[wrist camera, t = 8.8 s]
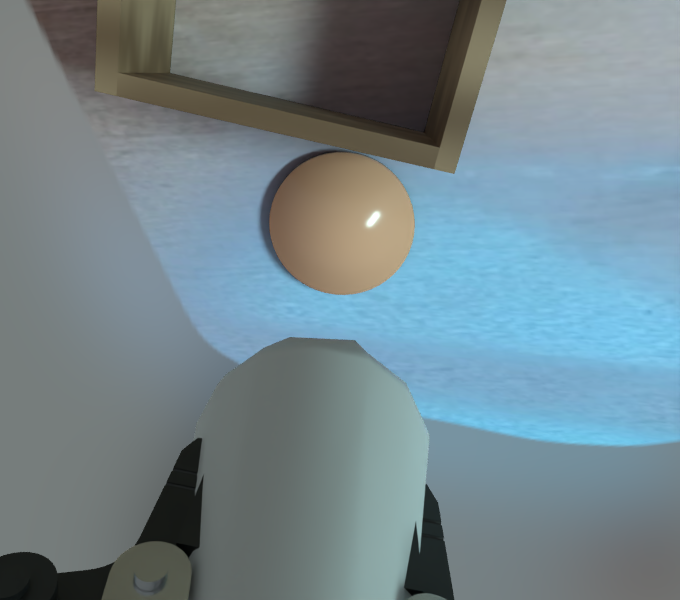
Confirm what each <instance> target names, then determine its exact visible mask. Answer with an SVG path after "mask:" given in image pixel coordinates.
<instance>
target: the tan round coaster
mask: <svg viewBox="0 0 680 600" xmlns="http://www.w3.org/2000/svg"><path fill="white" fill-rule="evenodd" d="M269 227H270V235H271V240H272V244H273V247H274V249H275V252H276V254H277V256H278V258H279V259H280V261H281V262H282V264H283V265H284V267H285V268H286V269H287V270H288V271H289V272H290V273H291V274H292V275H293V276H294V277H295V278H296V279H298V280H299V281H300V282H302V283H303V284H305V285H307V286H309V287H311V288H313V289H315V290H318V291H321V292H325V293H330V294H338V295H347V294H356V293H360V292H364V291H367V290H370V289H372V288H374V287H376V286H378V285H380V284H382V283H383V282H385V281H386V280H387V279H389V278H390V277H391V276H392V275H393V274H394V273H395V272H396V271H397V270H398V269H399V268H400V266H401V265H402V263H403V262H404V261H405V259H406V257H407V255H408V253H409V251H410V248H411V245H412V241H413V237H414V227H415V222H414V213H413V208H412V204H411V201H410V198H409V196H408V193H407V191H406V190H405V188H404V186H403V184H402V183H401V182H400V180H399V179H398V178H397V176H396V175H395V174H394V173H393V172H392V171H391V170H390V169H388V168H387V167H386V166H385V165H383V164H382V163H380V162H378V161H377V160H375V159H373V158H370V157H368V156H365V155H362V154H359V153H353V152H330V153H325V154H321V155H318V156H316V157H313V158H311V159H309V160H307V161H305V162H303V163H302V164H300V165H299V166H298V167H296V168H295V169H294V170H293V171H292V172H291V173H290V174H289V175H288V176H287V177H286V179H285V180H284V181H283V183H282V184H281V185H280V187H279V189H278V191H277V192H276V194H275V197H274V200H273V202H272V206H271V210H270V219H269Z"/></svg>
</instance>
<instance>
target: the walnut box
mask: <svg viewBox="0 0 680 600" xmlns="http://www.w3.org/2000/svg"><path fill="white" fill-rule="evenodd" d="M505 4H506V0H460V1H459V5H458V9H457V12H456V16H455V20H454V24H453V27H452V31H451V35H450V38H449V42H448V46H447V50H446V53H445V57H444V61H443V64H442V68H441V72H440V76H439V79H438V83H437V87H436V90H435V94H434V98H433V101H432V105H431V109H430V113H429V116H428V120H427V124H426V127H425V131H424V132H420V131H416V130H412V129H407V128H403V127H399V126H394V125H390V124H386V123H382V122H377V121H373V120H369V119H364V118H360V117H356V116H352V115H347V114H343V113H339V112H334V111H330V110H326V109H322V108H317V107H313V106H309V105H304V104H300V103H296V102H292V101H287V100H283V99H279V98H274V97H270V96H266V95H262V94H257V93H253V92H249V91H244V90H240V89H236V88H232V87H227V86H223V85H219V84H215V83H210V82H206V81H202V80H197V79H193V78H189V77H185V76H180V75H176V74H172V73H170V66H171V54H172V42H173V30H174V17H175V5H176V0H97V31H96V64H95V91H97V92H101V93H106V94H110V95H114V96H119V97H123V98H127V99H132V100H136V101H140V102H145V103H149V104H154V105H158V106H162V107H167V108H171V109H175V110H180V111H184V112H188V113H193V114H197V115H201V116H206V117H210V118H214V119H219V120H223V121H227V122H232V123H236V124H240V125H245V126H249V127H253V128H258V129H262V130H266V131H271V132H275V133H279V134H284V135H288V136H292V137H297V138H301V139H305V140H310V141H314V142H318V143H323V144H327V145H331V146H336V147H340V148H345V149H349V150H353V151H358V152H362V153H366V154H371V155H375V156H379V157H384V158H388V159H392V160H397V161H401V162H405V163H410V164H414V165H418V166H423V167H427V168H431V169H436V170H440V171H444V172H449V173H453V174H454V173H455V170H456V167H457V163H458V160H459V157H460V153H461V150H462V147H463V143H464V140H465V137H466V133H467V130H468V127H469V123H470V120H471V117H472V113H473V110H474V107H475V103H476V100H477V97H478V93H479V90H480V87H481V83H482V80H483V77H484V73H485V70H486V67H487V63H488V60H489V57H490V53H491V50H492V47H493V44H494V40H495V37H496V34H497V30H498V27H499V24H500V20H501V17H502V14H503V10H504V7H505Z"/></svg>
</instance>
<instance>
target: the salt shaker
mask: <svg viewBox="0 0 680 600" xmlns="http://www.w3.org/2000/svg"><path fill="white" fill-rule="evenodd" d="M197 438H202V444H201V452H200V460H199V467H198V473H197V483H196V488H195V495H196V492H197V490H198V487H199V485H200V482H201V480H202V477H203V475H204V478H203V490H202V510H201V529H200V547H199V548H198V549H196V550H194V551H193V552H192V554H191V555H190V557H189V561H190V563H191V568H192V575H191V582H190V589H189V596H188V600H407V599H408V598H410V597H412V596H411V595H410V593H409V592H408V591H407V590H406V589H405V588H404V584H405V579H406V573H407V567H408V562H409V556H410V550H411V545H412V539H413V534H414V528H415V523H416V526H417V535H418V543H419V552H420V545H421V533H422V521H423V508H424V496H425V484H426V472H427V460H428V448H429V434H428V431H427V429H426V426H425V423H424V421H423V419H422V417H421V415H420V412H419V410H418V408H417V406H416V404H415V402H414V399H413V397H412V395H411V393H410V391H409V388H408V386H407V384H406V383H405V382H404V381H403V380H401V379H400V378H399V377H398V376H396V375H395V374H394V373H392V372H391V371H390V370H389V369H387V368H386V367H385V366H383V365H382V364H381V363H380V362H378V361H377V360H376V359H375V358H373V357H372V356H371V355H369V354H368V353H367V352H366V351H365V350H364V349H363V348H362V347H361V346H360V345H359V344H358V343H357V342H356V341H355V340H338V339H317V338H296V337H289V338H287V339H284V340H282V341H279V342H277V343H275V344H272V345H270V346H267V347H265V348H263V349H262V350H260V351H259V352H257V353H256V354H255V355H253V356H252V357H250V358H249V359H247V360H246V361H245V362H243V363H242V364H240V365H239V366H237V367H236V368H235V369H233V370H232V371H231V372H229V373H228V374H226V375H225V376H224V378H223V379H222V380H221V381H220V382H219V383H218V385H217V386H216V388H215V390H214V392H213V394H212V396H211V398H210V399H209V401H208V403H207V405H206V407H205V409H204V411H203V413H202V415H201V416H200V418H199V420H198V422H197V424H196V430H195V436H194V440H195V439H197Z"/></svg>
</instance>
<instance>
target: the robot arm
mask: <svg viewBox="0 0 680 600" xmlns="http://www.w3.org/2000/svg"><path fill="white" fill-rule="evenodd" d="M201 444H202V438H197V439H195V440H194V441H193V442H192V443H191V444H189V445H188V446H187V447H186V448H184V449H183V450H182V451H181V453H180V455H179V458H178V459H177V462H176V464H175V466H174V468H173V471H172V472H171V474H170V476H169V478H168V480H167V483H166V485H165V486H164V488H163V491H162V492H161V495H160V497H159V499H158V501H157V503H156V505H155V507H154V509H153V511H152V513H151V515H150V517H149V520H148V522H147V523H146V526H145V527H144V530H143V532H142V534H141V536H140V538H139V540H138V541H137V543H136V544H135V546H133V547H131V548H130V549H128V550H127V551H125V552H124V553H123V554H121V555H120V557H119V558H118V559H117V560H116V561H115V562H114V563H112V564H109V565H107V566H104V567H100V568H97V569H91V570H83V571H74V572H66V573H57V571H56V568H55V566H54V565H53V563H52V562H51V561H50V560H49V559H47V558H46V557H44V556H42V555H39V554H36V553H30V552H18V553H11V554H7V555H3V556H1V557H0V600H188V596H189V589H190V582H191V575H192V568H191V563H190V561H189V557H190V555H191V554H192V552H193V551H194V550H196V549H198V548H199V547H200V529H201V510H202V490H203V478H204V475H203V477H202V480H201V482H200V485H199V487H198V490H197V492H196V495H195V488H196V483H197V473H198V467H199V460H200V452H201ZM443 538H444V536H443V530H442V526H441V518H440V512H439V506H438V502H437V500H436V499H435V497H434V495H433V494H432V492H431V491H430V489H429V487H428V486H427V484H425V496H424V508H423V521H422V533H421V545H420V552H419V543H418V535H417V526H416V523H415V528H414V534H413V539H412V545H411V550H410V556H409V562H408V567H407V573H406V579H405V584H404V588H405V589H406V590H407V591H408V592H409V593H410V595H411V596H412V597H410V598H408V599H407V600H454V596H453V589H452V583H451V577H450V571H449V565H448V560H447V553H446V547H445V542H444V541H443Z"/></svg>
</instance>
